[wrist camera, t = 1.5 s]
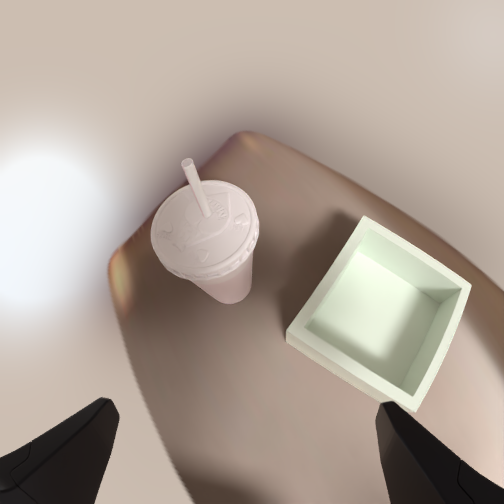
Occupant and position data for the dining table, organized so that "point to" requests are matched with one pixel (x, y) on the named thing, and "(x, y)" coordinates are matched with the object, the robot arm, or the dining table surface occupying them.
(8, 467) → the robot arm
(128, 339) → the dining table surface
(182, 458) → the dining table surface
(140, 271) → the dining table surface
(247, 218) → the smoothie
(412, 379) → the bin
